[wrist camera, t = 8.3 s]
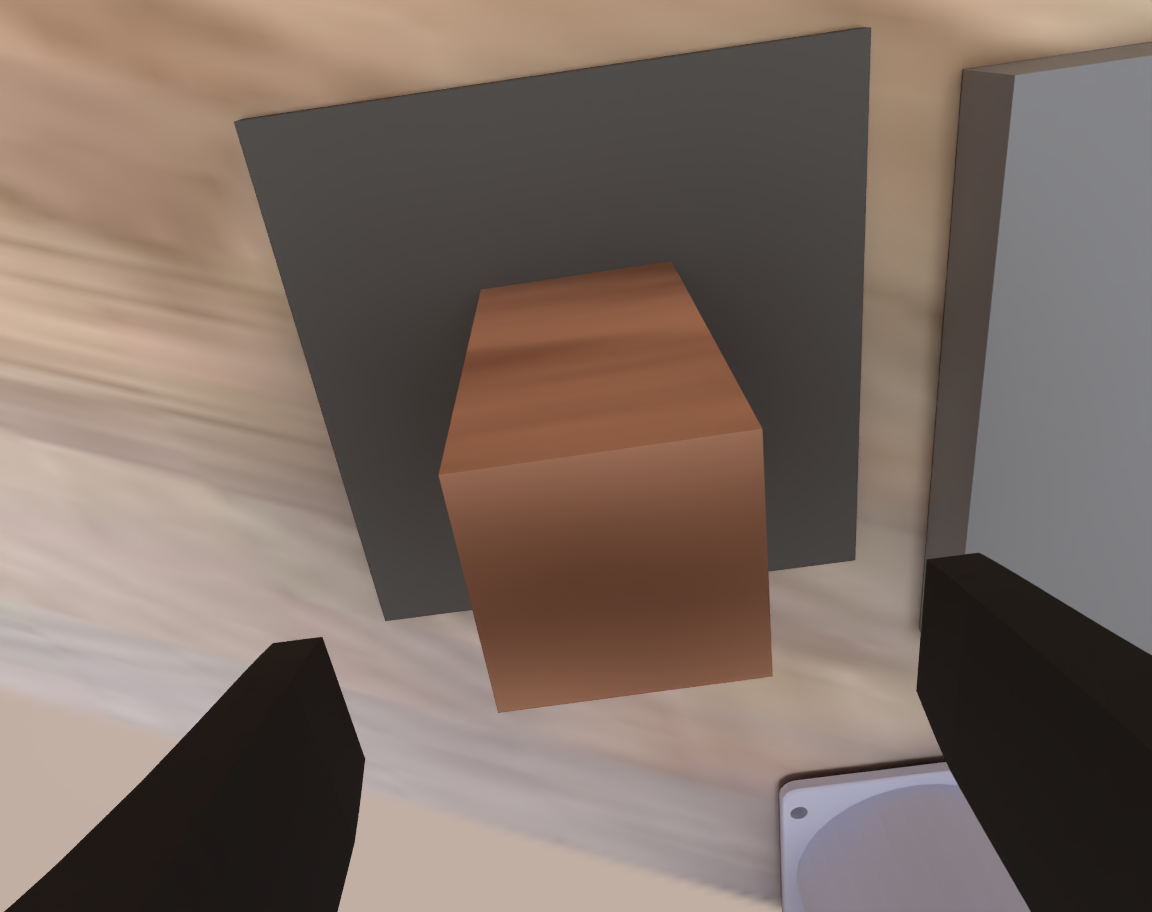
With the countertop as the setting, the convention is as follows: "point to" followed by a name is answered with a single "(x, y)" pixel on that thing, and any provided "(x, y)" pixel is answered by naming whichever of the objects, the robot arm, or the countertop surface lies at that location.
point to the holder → (1052, 334)
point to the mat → (578, 262)
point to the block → (606, 493)
